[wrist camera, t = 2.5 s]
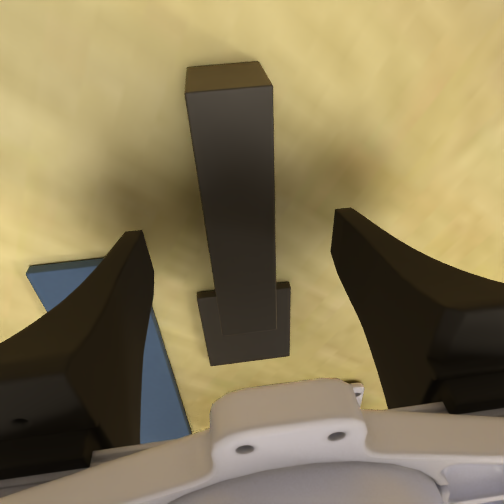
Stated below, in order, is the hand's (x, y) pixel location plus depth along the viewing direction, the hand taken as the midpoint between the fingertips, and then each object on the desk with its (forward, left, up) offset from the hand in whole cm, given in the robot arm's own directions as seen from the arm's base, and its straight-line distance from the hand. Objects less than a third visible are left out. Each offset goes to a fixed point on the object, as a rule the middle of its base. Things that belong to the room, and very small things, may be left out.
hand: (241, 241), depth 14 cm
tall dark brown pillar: (-3, 0, -3) cm, 5 cm away
